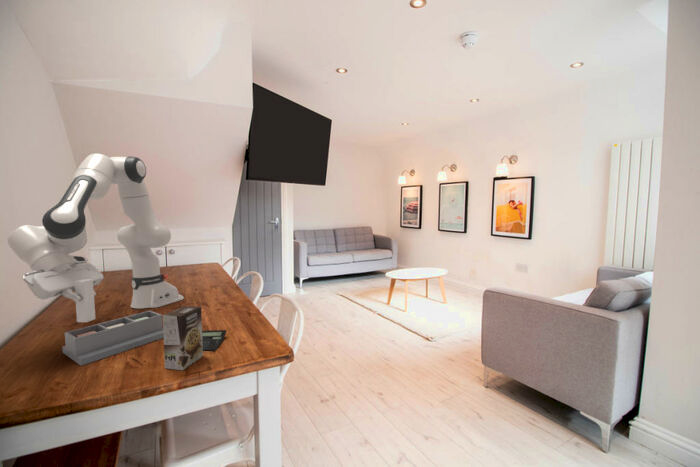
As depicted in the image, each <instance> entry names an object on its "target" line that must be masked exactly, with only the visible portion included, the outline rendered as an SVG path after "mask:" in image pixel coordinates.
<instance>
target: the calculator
mask: <svg viewBox="0 0 700 467" xmlns="http://www.w3.org/2000/svg"><path fill="white" fill-rule="evenodd" d="M226 334H227V329H219V330H217V329H216V330H202V342H203V351H212V352H216V351H217V350H218V349H219V348H220V346H221V345H222V344H223V342H224V340H225V336H226ZM222 341H223V342H222ZM220 344H221V345H220ZM219 345H220V346H219ZM216 349H217V350H216ZM215 350H216V351H215Z"/></svg>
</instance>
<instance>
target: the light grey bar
mask: <svg viewBox="0 0 700 467" xmlns="http://www.w3.org/2000/svg"><path fill="white" fill-rule="evenodd" d="M74 287H75V291H74V293H75V294H77V295H78V294H80V295H81V296H82V297H83V299H82V301H80V302H75V311H76V312H75V313H76V323H89V322H90V321H93V320H96V308H95V306H96V305H95V296H94V292H95V289H94V286H93V279H82V280H78V281H74Z"/></svg>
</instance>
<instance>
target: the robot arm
mask: <svg viewBox="0 0 700 467" xmlns="http://www.w3.org/2000/svg"><path fill="white" fill-rule="evenodd" d="M146 175H147V168H146V165H145V163H144V161H143V160H142V159H141V158H140V157H137V156H111V157H110V156H107V155H105V154H103V153H91V154H89V155H87V156H86V157H85V158H84V160H83V161H82V162H81V163H80V164H79V166H78V168H77V169H76V171H75V173H74V175H73V178H72V179H71V183H70V185H69V186H68V188H67V190H66V191H65V193H64V195H63V196H62V197H61V199H60V201H59V202H58V203H57V204H56V205H54V206H53V207H51V208H50V209H48V210H47V211H46V212H45V213H44V214H43V216H42V218H41V219H42V220H41V222H42V225H31V224H24V225H20V226H19V227H17V228H15V229H14V230H12V231H11V232H10V233H9V235H8V238H7V244H8V246H9V248H10V250H12V252H14V254H15V255H16V256H17V257H18V258H19V259H20V260H21V261H22V262H24V263H26V264H27V265H28V266H29V268H30V270H31V272H26V273H25V274H24V275H23V276H22V280H23V282H25V283H26V284H27V287H28V288H29V290H30V292H31V293H32V294H33V295H34V296H35V297H36V298H38V299H40V300H47V299H50V298H55V297H58V296H61V295H62V296H63V297H64V298H67V299H70V300H73V302H74V303H76V302H80V301H82V299H83V297H82V296H81V295H80V294H78V295H77V294H75V287H74V281H78V280H82V279H93V287H94V286H97V285H99V284H100V283H101V282H102V281H103V279H104V274H103V273H102V272H101V271H100V270H99V269H98V268H97V267H96V266H94V265H93V264H92V263H91V262H88V261H89V259H88V258H86V257H85V256H81V255H80V256H79V255H71V254H72V253H75V252H77V251H80V250H81V249H83V248H84V247H85V246H86V244H87V242H88V234H87V228H86V224H87V223H86V220H87V219H86V215H85V209H86V207H87V205H88V203H89V201H90V200H100V199H102V198H104V197H105V196H106V195H107V193H108V192H109V190H110V188H111V186H112V185H114V184H117V190H118V196H119V199H120V202H121V206H122V211H123V214H124V215H125V216H126V217H127V218H129V219H130V220H131V221H132V222H133V223H134V224H133V223H132V224H128V225H124V226H122V227H121V228H120V229H118V231H117V236H116V237H117V241H118V242H119V243H120V244H121V245H122V246H123V248H125V249H126V251H127V253H128V255H129V258H130V261H131V270H132V277H131V286H132V298H131V303H130V308H133V309H149V308H151V309H154V308H160V307H163V306H166V305H169V304H173V303H176V302H179V301H181V300H182V301H183V300H184V296H183V295H182V294H180V293H179V290H178V289H177V287H176V286H175V285H173V284H171V283H170V282H167V281H166V280H167V279H169V275H168V274H162V273H161V269H160V268H161V267H160V259H159V257H158V256H157V255H155V254H154V252H153V251H152V249H151V248H160V247H161V248H162V247H165V246H167V245H168V244H169V243H170V241H171V238H172V235H171V234H172V233H171V231H170V229H169V228H168V227H166V226H165V225H164V224H162V222H161V221H160V220H159V218H158V217H157V216H156V214H155V212H154V210H153V206H152V203H151V200H150V195H149V192H148V188H147V185H146V183H145V181H144V180H145V177H146ZM96 295H97V292H95V291H94V297H95V296H96Z"/></svg>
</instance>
